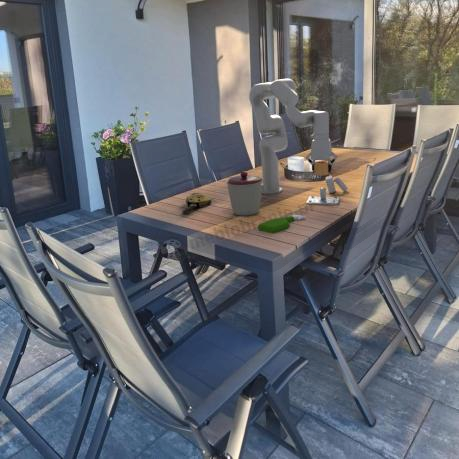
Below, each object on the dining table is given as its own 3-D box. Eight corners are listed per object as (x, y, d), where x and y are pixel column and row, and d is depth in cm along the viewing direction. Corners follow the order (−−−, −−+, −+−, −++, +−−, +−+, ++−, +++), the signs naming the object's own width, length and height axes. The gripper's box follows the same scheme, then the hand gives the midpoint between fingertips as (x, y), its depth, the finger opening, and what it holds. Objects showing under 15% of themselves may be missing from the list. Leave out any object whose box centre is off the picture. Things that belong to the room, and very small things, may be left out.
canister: (253, 220, 232) (250, 176, 225) (221, 216, 241) (218, 174, 235) (270, 209, 246) (268, 168, 240) (240, 206, 256) (237, 167, 249)
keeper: (305, 204, 251) (305, 191, 248) (309, 198, 261) (309, 185, 259) (337, 204, 246) (337, 191, 244) (340, 198, 257) (340, 185, 254)
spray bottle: (256, 230, 218) (291, 217, 234) (274, 234, 211) (309, 221, 227) (255, 224, 218) (290, 211, 234) (274, 228, 210) (309, 214, 226)
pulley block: (172, 203, 248) (192, 188, 275) (172, 214, 250) (192, 198, 277) (199, 207, 245) (216, 192, 272) (198, 218, 247) (215, 202, 274)
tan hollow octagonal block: (313, 175, 247) (313, 163, 245) (315, 172, 253) (315, 160, 251) (327, 175, 244) (327, 163, 243) (329, 172, 251) (329, 160, 249)
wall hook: (348, 192, 265) (344, 174, 262) (330, 197, 268) (325, 179, 265) (348, 188, 272) (344, 171, 270) (330, 193, 275) (325, 176, 273)
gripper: (302, 138, 242) (303, 173, 248) (338, 137, 237) (338, 173, 242) (305, 136, 249) (305, 170, 255) (339, 135, 243) (339, 170, 249)
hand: (321, 171), depth 248 cm, fingers closed on tan hollow octagonal block, 7 cm apart
